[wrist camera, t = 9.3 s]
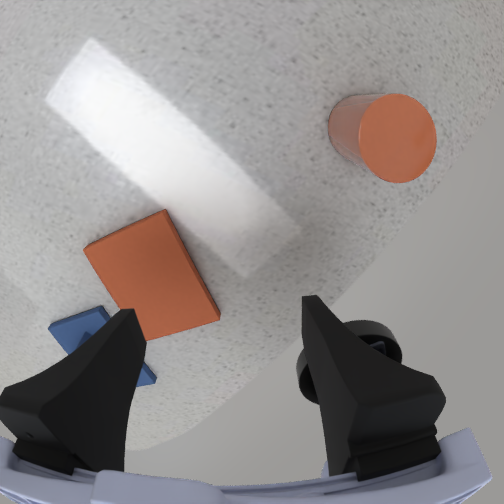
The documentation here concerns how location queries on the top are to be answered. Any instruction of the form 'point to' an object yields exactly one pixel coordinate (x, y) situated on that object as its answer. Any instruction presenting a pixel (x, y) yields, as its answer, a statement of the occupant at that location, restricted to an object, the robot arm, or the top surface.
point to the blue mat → (89, 321)
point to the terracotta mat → (153, 276)
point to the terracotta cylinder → (384, 135)
